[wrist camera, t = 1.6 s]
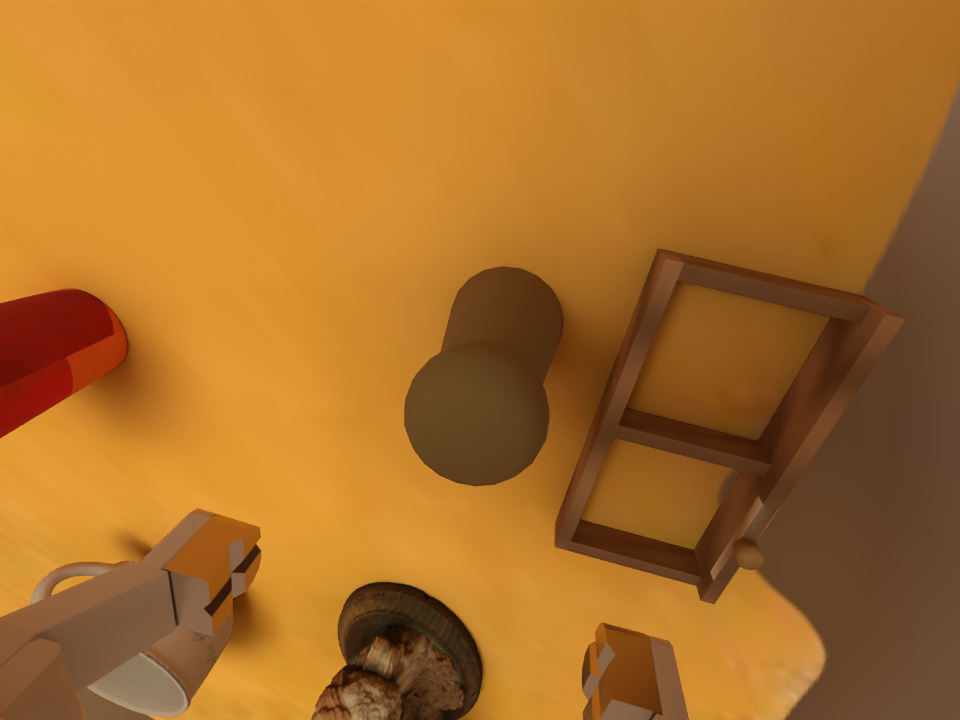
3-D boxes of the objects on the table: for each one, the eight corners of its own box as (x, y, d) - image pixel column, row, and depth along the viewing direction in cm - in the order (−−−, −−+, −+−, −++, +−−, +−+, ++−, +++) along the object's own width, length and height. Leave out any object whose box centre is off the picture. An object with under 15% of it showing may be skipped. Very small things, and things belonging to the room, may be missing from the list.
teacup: (276, 616, 41) (214, 718, 33) (190, 633, 44) (118, 729, 37) (171, 496, 36) (75, 587, 29) (85, 526, 39) (-21, 613, 32)
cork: (563, 372, 26) (561, 518, 16) (457, 372, 27) (394, 508, 17) (562, 263, 23) (560, 359, 13) (444, 268, 24) (363, 360, 15)
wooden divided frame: (658, 248, 22) (675, 270, 19) (868, 297, 22) (927, 329, 18) (555, 522, 31) (553, 574, 27) (704, 563, 30) (722, 621, 26)
